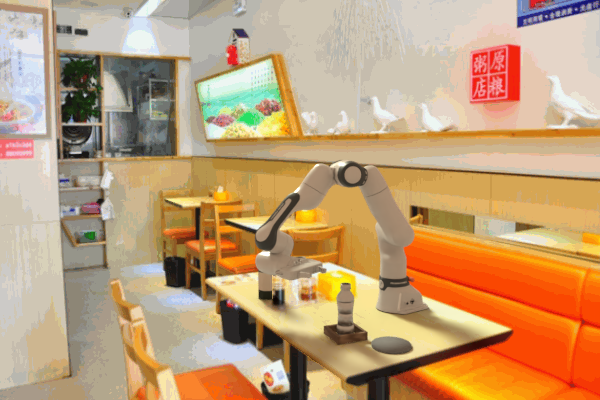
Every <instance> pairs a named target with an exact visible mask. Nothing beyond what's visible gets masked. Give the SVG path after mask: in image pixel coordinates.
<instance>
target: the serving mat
mask: <svg viewBox="0 0 600 400" xmlns="http://www.w3.org/2000/svg"><path fill="white" fill-rule="evenodd" d="M370 346H371V347H372V349H374V350H375V351H377V352H380V353H383V354H389V355H400V354H405V353H408V352H410V351H411V350H412V347H413V346H412V343H411V342H410V341H409V340H407V339H405V338H402V337H399V336H390V335H389V336H379V337H376V338H374V339H372V340H371V342H370Z"/></svg>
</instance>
